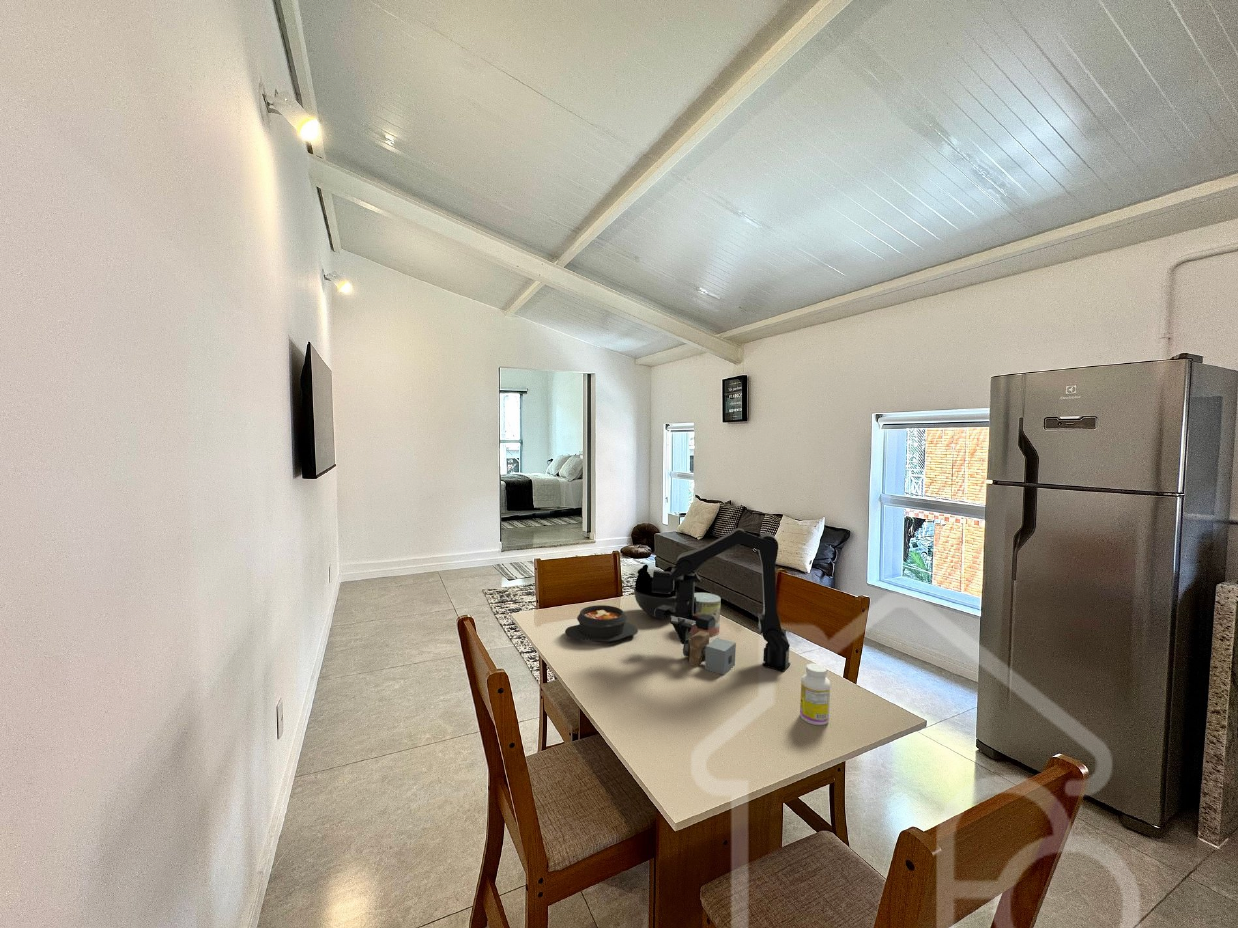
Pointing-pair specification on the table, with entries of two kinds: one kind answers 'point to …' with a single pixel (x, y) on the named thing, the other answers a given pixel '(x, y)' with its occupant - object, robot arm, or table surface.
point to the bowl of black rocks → (646, 596)
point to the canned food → (708, 611)
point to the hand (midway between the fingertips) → (683, 643)
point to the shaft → (687, 649)
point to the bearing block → (720, 656)
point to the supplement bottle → (815, 695)
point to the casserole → (601, 625)
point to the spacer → (698, 647)
